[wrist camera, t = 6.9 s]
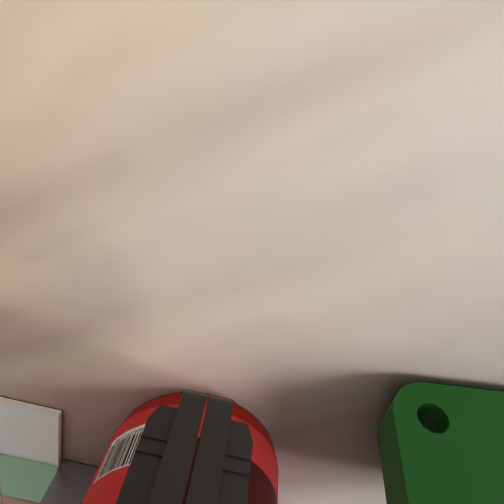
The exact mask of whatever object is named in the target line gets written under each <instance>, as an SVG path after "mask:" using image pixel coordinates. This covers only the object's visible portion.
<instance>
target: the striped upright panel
mask: <svg viewBox="0 0 504 504" xmlns="http://www.w3.org/2000/svg"><path fill="white" fill-rule="evenodd" d="M61 446H62V411H60V410H56V409H52V408H47V407H43V406H39V405H34V404H30V403H26V402H21V401H17V400H12V399H8V398H4V397H0V486H1V495H2V504H39V503H40V502H41V500H42V498H43V496H44V494H45V492H46V491H47V489H48V487H49V485H50V483H51V481H52V480H53V478H54V476H55V474H56V472H57V470H58V469H59V467H60V465H61Z"/></svg>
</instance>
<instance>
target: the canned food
mask: <svg viewBox="0 0 504 504" xmlns="http://www.w3.org/2000/svg"><path fill="white" fill-rule="evenodd" d="M181 396H182V394H171V395H166V396H162V397H157V398H155V399H153V400H150V401H148V402H145V403H144V404H142V405H141V406H139V407H138V408H136V409H135V410H134V411H133V412H132V413H131V414H130V415H129V416H128V418H127V419H126V420H125V421H124V422H123V423H122V424H121V426H120V427H119V428H118V429H117V430H116V431H115V433H114V435H113V437H112V439H111V441H110V443H109V446H108V448H107V450H106V452H105V454H104V457H103V459H102V461H101V463H100V465H99V467H98V470H97V472H96V474H95V476H94V478H93V481H92V483H91V485H90V487H89V489H88V491H87V494H86V496H85V498H84V500H83V502H82V504H115V503H116V500H117V498H118V495H119V492H120V490H121V487H122V485H123V482H124V479H125V477H126V474H127V471H128V469H129V466H130V464H131V461H132V458H133V456H134V454H135V451H136V448H137V445H138V443H139V440H140V438H141V435H142V432H143V429H144V427H145V424H146V422H147V419H148V417H149V416H150V415H151V414H152V413H153V412H154V411H155V410H156V409H157V408H158V407H159V406H160V405H161V404H162V405H166V406H171V407H175V408H178V406H179V402H180V399H181ZM208 400H209V396H208V395H207V400H206V404H205V408H204V412H203V417H202V421H201V425H200V429H199V434H198V438H197V442H196V446H195V451H194V455H193V459H192V463H191V468H190V472H189V476H188V480H187V485H186V489H185V493H184V497H183V502H182V504H184V503H185V499H186V494H187V490H188V486H189V481H190V477H191V472H192V468H193V464H194V459H195V455H196V451H197V446H198V442H199V438H200V434H201V429H202V425H203V421H204V417H205V413H206V409H207V405H208ZM231 420H234V421H238V422H242V423H247V424H248V427H249V430H250V433H251V436H252V440H253V447H252V457H251V468H250V476H249V490H248V500H247V504H277V502H278V464H277V458H276V454H275V451H274V447H273V444H272V441H271V439H270V437H269V434H268V432H267V431H266V429H265V428H264V427H263V425H262V424H261V423H260V422H259V421H258V420H257V419H256V418H255V417H254V416H253V415H251V414H250V413H249V412H247V411H246V410H244V409H242V408H241V407H239V406H237V405H236V404H233V410H232V416H231Z"/></svg>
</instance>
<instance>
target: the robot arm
mask: <svg viewBox="0 0 504 504" xmlns="http://www.w3.org/2000/svg"><path fill="white" fill-rule="evenodd" d="M207 395H208V394H203V393H199V392H194V391H190V390H185V389H184V390H183V393H182V396H181V399H180V402H179V406H178V408H175V407H171V406H166V405H162V404H161V405H160V406H159V407H158V408H157V409H156V410H155V411H154V412H153V413H152V414H151V415H150V416H149V417H148V419H147V422H146V424H145V427H144V429H143V432H142V435H141V438H140V440H139V443H138V445H137V448H136V451H135V454H134V456H133V458H132V461H131V464H130V466H129V469H128V471H127V474H126V477H125V479H124V482H123V485H122V487H121V490H120V492H119V495H118V498H117V500H116V503H115V504H182V502H183V497H184V493H185V489H186V485H187V480H188V476H189V472H190V468H191V463H192V459H193V455H194V451H195V446H196V442H197V438H198V434H199V429H200V425H201V421H202V417H203V412H204V408H205V404H206V400H207ZM233 402H234V400H230V399H226V398H221V397H217V396H213V395H210V396H209V400H208V405H207V409H206V413H205V417H204V421H203V425H202V429H201V434H200V438H199V442H198V446H197V451H196V455H195V459H194V464H193V468H192V472H191V477H190V481H189V486H188V490H187V494H186V499H185V503H184V504H247V500H248V490H249V476H250V468H251V457H252V447H253V440H252V436H251V433H250V430H249V427H248V424H247V423H242V422H238V421H234V420H231V416H232V410H233Z"/></svg>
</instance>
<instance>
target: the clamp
mask: <svg viewBox="0 0 504 504" xmlns="http://www.w3.org/2000/svg"><path fill="white" fill-rule="evenodd" d="M378 441H379V448H380V456H381V463H382V471H383V478H384V486H385V493H386V501H387V504H504V392H502V391H494V390H485V389H477V388H468V387H460V386H451V385H443V384H434V383H426V382H415V383H410V384H407V385H405V386H404V387H402V388H401V389H400V390H399V391H398V392H397V394H396V396H395V397H394V399H393V401H392V403H391V404H390V406H389V408H388V409H387V411H386V413H385V415H384V416H383V418H382V420H381V421H380V424H379V427H378Z"/></svg>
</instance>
